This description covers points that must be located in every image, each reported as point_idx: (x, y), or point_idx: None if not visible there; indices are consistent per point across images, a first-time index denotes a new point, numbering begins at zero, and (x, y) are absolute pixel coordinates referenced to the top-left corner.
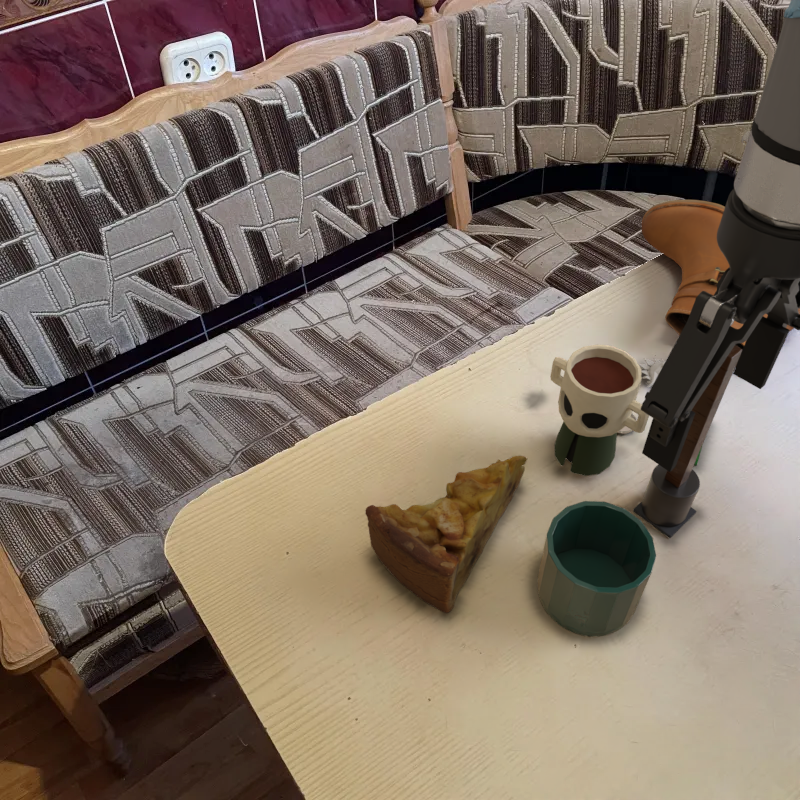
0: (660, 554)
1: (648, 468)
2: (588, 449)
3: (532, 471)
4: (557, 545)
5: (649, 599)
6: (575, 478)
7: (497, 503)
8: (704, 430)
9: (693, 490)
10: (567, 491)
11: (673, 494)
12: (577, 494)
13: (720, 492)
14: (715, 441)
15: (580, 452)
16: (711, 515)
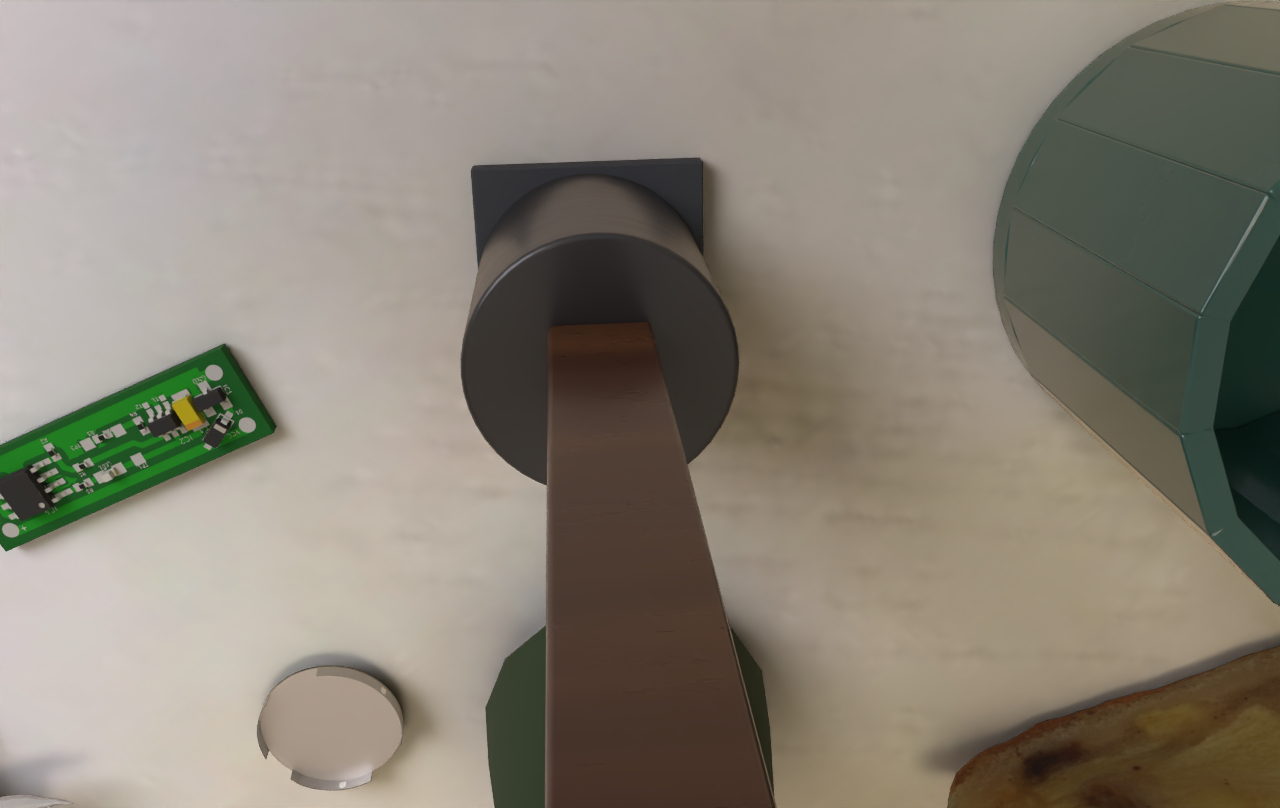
0: (808, 131)
1: (435, 479)
2: None
3: (851, 763)
4: (1257, 474)
5: (1057, 9)
6: (745, 638)
7: (1235, 771)
8: (656, 577)
9: (593, 253)
10: (829, 614)
11: (711, 311)
12: (810, 579)
13: (255, 159)
14: (3, 377)
15: (766, 758)
16: (416, 102)
